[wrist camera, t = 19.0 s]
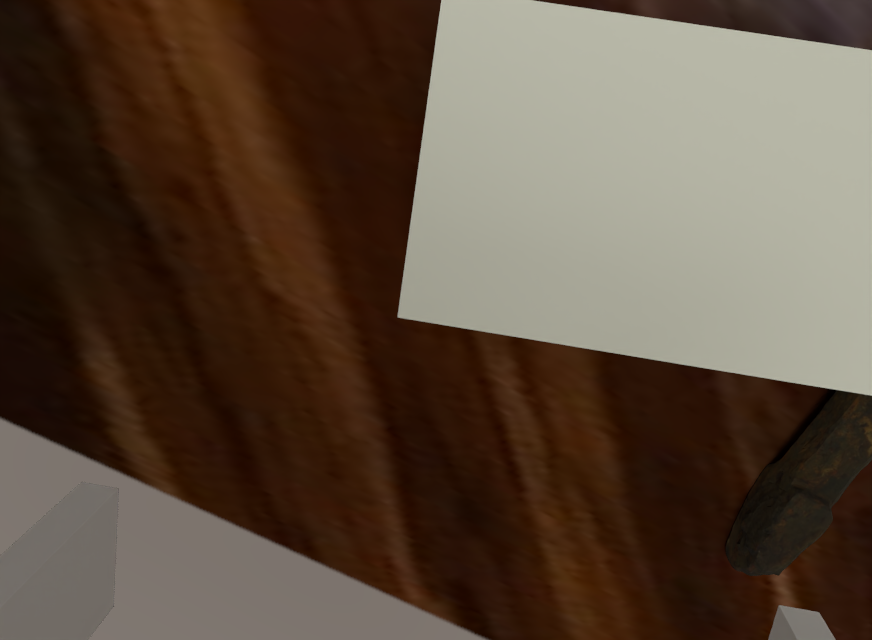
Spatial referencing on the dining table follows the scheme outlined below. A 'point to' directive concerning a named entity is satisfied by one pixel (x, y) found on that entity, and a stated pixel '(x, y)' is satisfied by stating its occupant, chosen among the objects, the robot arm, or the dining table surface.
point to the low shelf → (647, 191)
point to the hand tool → (802, 487)
